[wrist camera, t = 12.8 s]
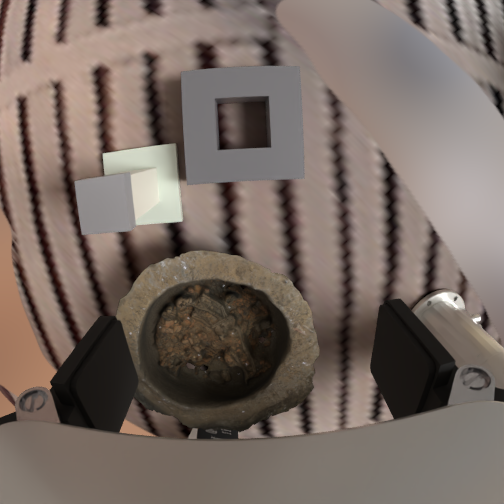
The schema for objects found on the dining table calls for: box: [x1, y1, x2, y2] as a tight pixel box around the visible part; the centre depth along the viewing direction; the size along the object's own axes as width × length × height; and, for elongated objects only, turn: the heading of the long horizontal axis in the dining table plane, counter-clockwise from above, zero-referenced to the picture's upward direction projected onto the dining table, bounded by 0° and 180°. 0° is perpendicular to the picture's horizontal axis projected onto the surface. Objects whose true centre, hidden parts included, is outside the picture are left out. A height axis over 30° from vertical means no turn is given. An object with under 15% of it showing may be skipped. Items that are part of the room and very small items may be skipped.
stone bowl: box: [116, 250, 319, 432], centre depth 37 cm, size 25×25×9 cm
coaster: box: [103, 143, 183, 225], centre depth 34 cm, size 9×9×1 cm
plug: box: [75, 168, 160, 235], centre depth 28 cm, size 5×5×12 cm
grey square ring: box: [181, 66, 304, 185], centre depth 31 cm, size 12×12×4 cm
